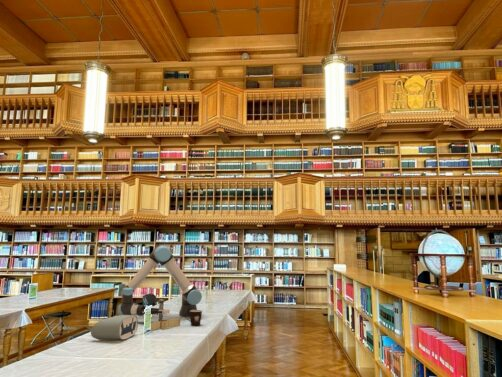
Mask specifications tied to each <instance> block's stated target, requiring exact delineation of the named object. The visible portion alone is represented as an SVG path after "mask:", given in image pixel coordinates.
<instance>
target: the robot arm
mask: <svg viewBox="0 0 502 377" xmlns="http://www.w3.org/2000/svg"><path fill="white" fill-rule="evenodd" d="M174 257H175V256H174V255H173V253H172V252H171V249H170V248H169V247H167V245H166V246H165V245H158V246H156V247H155V248H154V249H153V250H152V252H151V253H150V255H149V256H148V257H147V261H146V262H145V263H144V264H143V265H142V266H141V267H140V269H139V270H138V271H137V272H136V274H135V275H134V276H133V277H132V279H131V280H130V281H129V282H128V283H127V284H126V286H125V287H123V288H122V290H121V292H120V296H121V304H119V305H118V307H117V313H118V315H135V316H136V317H137V316H138V317H143V316H144V315H146V314H145V312H144V309H145V308H146V306H145V305H144V304H133V299H134V298H133V297H134V293H135V291H136V290H137V289H138V288H139V286H140V285H141V284H142V282H143V281H144V280H145V279H146V278H147V277H148V276H149V274H150V273H151V271H152V270H153V269H154V268H155V266H158V265H160V266H161V267H164V269H166V271H167V272H168V274H169V275H170V276H171V278H172V279H173V281H174V282H175V283H176V285H177V286H178V287H179V289H180V290H181V307H180V309H179V312H178V315H179V316H180V317H186V318H187V317H188V318H189V317H190V315H189V314H186V313H190V310H198V307H197V305H198V304H200V302H201V301H202V297H203V296H202V292H201V291H200V290H199V289H198V287H197V286H196V285H195V284H193V283H191V281H189V279H188V278H187V276H186V275H185V273H184V271H182V269H181V268H180V266H179V265H178V264H177V263H176V261H175V260H174V259H175V258H174ZM150 308H151V314H150V315H156V316H159V314H163V315H168V314H170V309H167V308H166V309H165V308H163V310H159V307H158V308H156V307H150ZM185 314H186V315H185Z"/></svg>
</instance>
